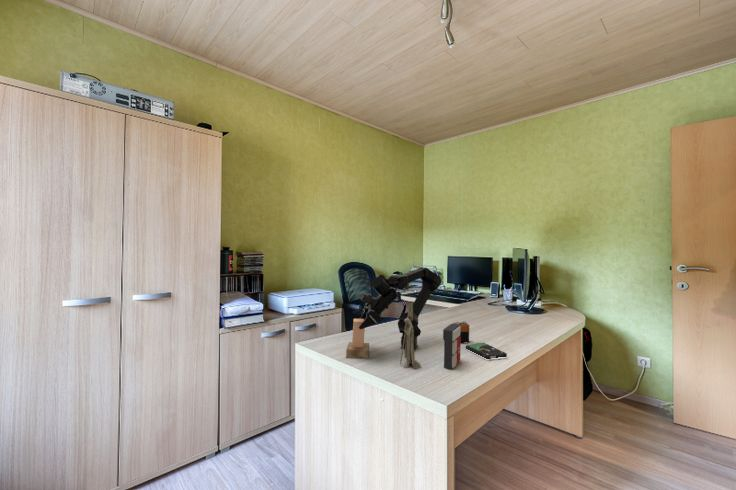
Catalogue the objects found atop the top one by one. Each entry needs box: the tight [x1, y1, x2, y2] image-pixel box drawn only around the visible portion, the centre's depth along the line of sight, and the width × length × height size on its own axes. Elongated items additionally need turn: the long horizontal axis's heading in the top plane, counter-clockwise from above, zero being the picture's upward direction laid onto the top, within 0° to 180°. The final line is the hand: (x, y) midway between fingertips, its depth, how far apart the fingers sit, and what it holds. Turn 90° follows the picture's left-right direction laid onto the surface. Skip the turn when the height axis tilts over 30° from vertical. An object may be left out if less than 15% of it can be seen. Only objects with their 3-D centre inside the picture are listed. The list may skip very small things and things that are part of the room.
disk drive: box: [465, 342, 508, 359], centre depth 136 cm, size 10×3×15 cm
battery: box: [452, 320, 470, 344], centre depth 151 cm, size 4×7×10 cm, turn 100°
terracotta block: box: [351, 318, 365, 348], centre depth 131 cm, size 4×4×11 cm
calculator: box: [442, 323, 462, 370], centre depth 122 cm, size 11×4×15 cm, turn 148°
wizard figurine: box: [399, 300, 422, 370], centre depth 121 cm, size 10×8×25 cm
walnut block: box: [345, 341, 370, 360], centre depth 131 cm, size 9×9×4 cm
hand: (358, 325), depth 131 cm, fingers open, 9 cm apart
